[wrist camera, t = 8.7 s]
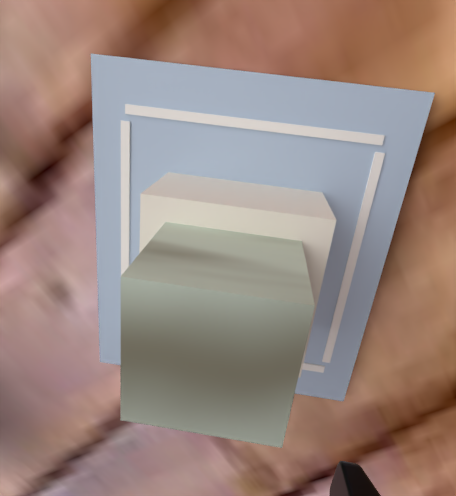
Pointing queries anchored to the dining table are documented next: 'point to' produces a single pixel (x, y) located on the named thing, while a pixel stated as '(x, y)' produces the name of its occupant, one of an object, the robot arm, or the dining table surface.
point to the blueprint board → (255, 182)
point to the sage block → (214, 332)
